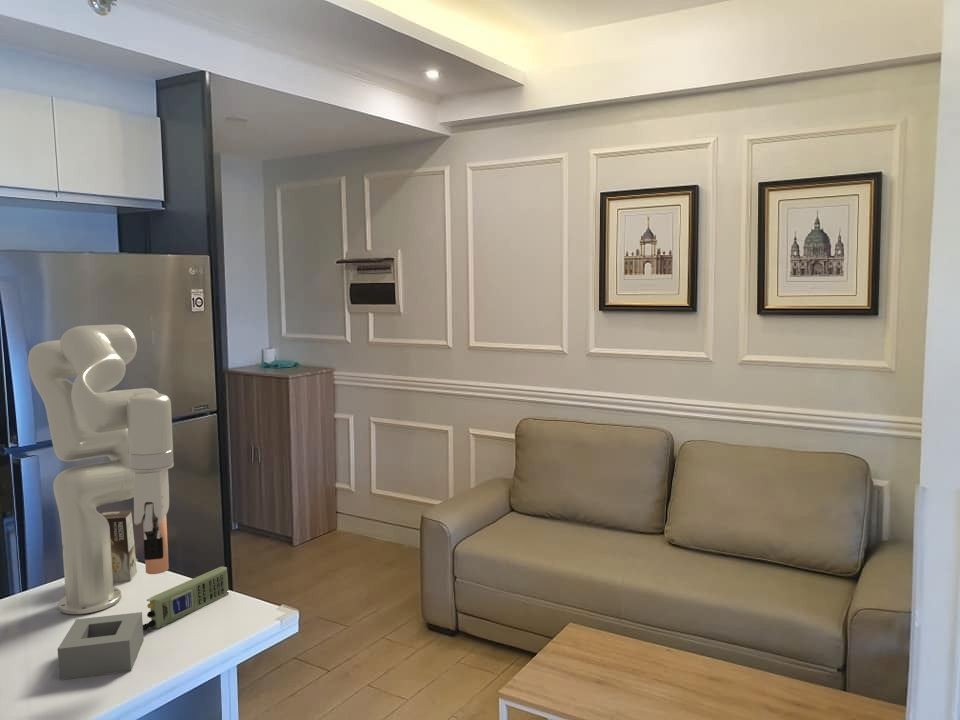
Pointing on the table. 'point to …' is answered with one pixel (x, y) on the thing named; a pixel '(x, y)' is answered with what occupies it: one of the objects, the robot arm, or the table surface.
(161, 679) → the table surface
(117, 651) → the socket block
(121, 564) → the coffee box
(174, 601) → the handheld radio
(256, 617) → the table surface
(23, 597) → the table surface
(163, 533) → the peg
